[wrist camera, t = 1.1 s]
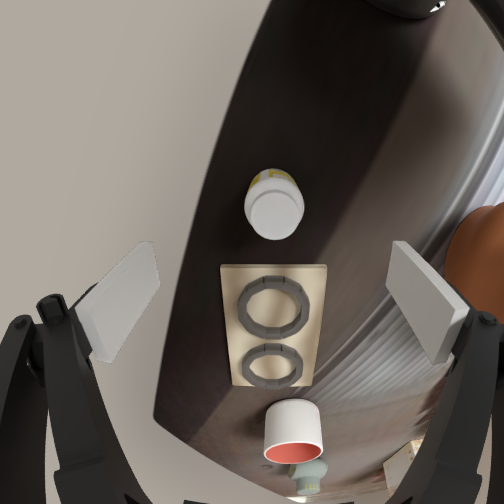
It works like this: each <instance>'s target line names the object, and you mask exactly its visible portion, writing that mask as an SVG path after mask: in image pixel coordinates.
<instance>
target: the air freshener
mask: <svg viewBox="0 0 504 504" xmlns="http://www.w3.org/2000/svg"><path fill="white" fill-rule="evenodd" d="M327 468H328V465H327V462H325V461H324V460H322V459H319V458H315V459H313V460H310V461H307V462H303V463H296V464H291V466H290V468H289V472H288V476H289V478H290V479H292V480H294V481H296V492H297V493H298V494H300V495H310V494H315V493H318V492H319V491H320V478H322V477H323V476H324V475H325V474H326V472H327Z"/></svg>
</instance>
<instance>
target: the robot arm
mask: <svg viewBox="0 0 504 504" xmlns="http://www.w3.org/2000/svg"><path fill="white" fill-rule="evenodd" d="M365 1H367V2H368V3H370V4H371V5H373V6H375V7H377V8H379V9H381V10H383V11H385V12H387V13H390V14H393V15H395V16H399V17H403V18H408V19H422V18H426V17H429V16H431V15H432V14H434V13H436V12H437V11H439V10H440V9H441V8H442V7H443V6H444V4H445V2H446V0H365ZM469 1H470V2H471V4H472V5H473V6H474V7H475V9H476V10H477V11H478V13H479V14H480V16H481V17H482V18H483V20H484V21H485V23H486V24H487V26H488V27H489V28H490V30H491V31H492V33H493V35H494V36H495V38H496V39H497V41H498V43H499V44H500V46H501V48H502V49H503V51H504V0H469ZM160 286H161V285H160V280H159V275H158V269H157V264H156V258H155V252H154V247H153V242H140V243H139V244H138V245H137V246H136V247H135V248H134V249H133V250H131V251H130V252H129V254H127V255H126V256H125V257H124V258H123V259H122V260H121V261H120V262H119V263H118V264H117V265H116V266H115V267H114V268H113V269H112V270H111V271H110V272H109V273H108V274H107V275H106V276H105V277H104V278H103V279H102V280H101V281H100V282H98V283H96V284H94V285H93V286H91V287H90V288H89V289H88V290H87V291H86V292H85V294H83V295H82V296H81V297H80V299H78V300H77V301H76V302H75V303H74V305H73V306H72V307H71V308H70V309H69V310H68V308H67V306H66V303H65V300H64V298H63V295H61V294H52V295H48V296H46V297H44V298H43V299H41V300H40V301H39V302H38V303H37V305H36V308H37V310H38V313H39V315H40V317H41V319H42V322H43V324H34V322H33V320H32V318H31V316H30V315H20V316H18V317H16V318H15V319H14V320H13V321H12V322H11V323H10V325H9V327H8V329H7V331H6V333H5V335H4V337H3V340H2V342H1V344H0V504H46V493H45V441H46V427H47V416H48V409H49V416H50V422H51V428H52V433H53V438H54V443H55V447H56V451H57V456H58V460H59V464H60V470H57V471H55V472H54V481H55V485H56V489H57V492H58V495H59V498H60V501H61V504H152V502H151V501H150V500H149V499H148V497H147V496H146V495H145V493H144V492H143V490H142V489H141V487H140V485H139V483H138V481H137V479H136V477H135V475H134V473H133V471H132V469H131V467H130V466H129V464H128V461H127V459H126V457H125V455H124V453H123V450H122V448H121V446H120V444H119V441H118V439H117V437H116V434H115V432H114V429H113V427H112V424H111V421H110V419H109V416H108V413H107V411H106V408H105V405H104V402H103V399H102V396H101V393H100V390H99V387H98V384H97V381H96V377H95V374H94V370H93V367H92V363H91V361H90V359H89V357H88V356H89V355H90V353H91V352H92V351H93V353H94V355H95V357H96V359H97V361H100V362H105V363H110V364H111V363H112V362H113V360H114V359H115V357H116V355H117V354H118V352H119V350H120V349H121V347H122V345H123V344H124V342H125V340H126V339H127V337H128V336H129V334H130V332H131V331H132V329H133V328H134V326H135V324H136V323H137V321H138V320H139V318H140V317H141V315H142V313H143V312H144V310H145V309H146V307H147V305H148V304H149V302H150V301H151V299H152V298H153V296H154V295H155V293H156V292H157V290H158V289H159V287H160ZM385 286H386V287H387V289H388V290H389V292H390V294H391V295H392V297H393V298H394V300H395V301H396V303H397V305H398V306H399V308H400V310H401V311H402V313H403V315H404V316H405V318H406V320H407V321H408V323H409V325H410V326H411V328H412V330H413V332H414V333H415V335H416V337H417V338H418V340H419V342H420V344H421V346H422V347H423V349H424V351H425V353H426V355H427V357H428V358H429V360H430V362H431V364H432V365H435V364H440V363H445V362H446V361H447V359H448V357H449V355H450V353H451V351H452V353H453V354H454V356H455V358H454V360H453V362H452V364H451V366H450V368H449V370H448V372H447V373H446V375H445V376H446V377H447V376H448V378H447V381H446V384H445V387H444V390H443V393H442V395H441V398H440V401H439V404H438V406H437V409H436V411H435V414H434V416H433V419H432V421H431V424H430V426H429V428H428V430H427V433H426V435H425V437H424V439H423V441H422V444H421V446H420V448H419V450H418V452H417V454H416V456H415V458H414V460H413V461H412V463H411V465H410V467H409V469H408V471H407V472H406V474H405V476H404V478H403V479H402V481H401V483H400V484H399V486H398V488H397V489H396V491H395V492H394V494H393V495H392V496H391V498H390V499H389V500H388V501H387V502H386V503H385V504H474V503H475V500H476V497H477V495H478V492H479V490H480V487H481V483H482V476H481V475H479V474H477V467H478V464H479V461H480V458H481V454H482V451H483V447H484V443H485V440H486V435H487V431H488V427H489V422H490V417H491V414H492V456H491V471H490V482H489V489H488V496H487V503H486V504H504V324H499V321H498V320H497V318H496V317H495V316H494V315H492V314H490V313H488V312H485V311H477V310H476V309H475V308H474V307H473V306H472V305H471V304H470V302H469V301H468V300H467V299H466V298H464V296H463V295H462V294H461V293H460V291H459V290H458V289H457V288H456V287H455V286H454V285H452V284H450V283H449V282H447V281H445V280H444V279H443V278H442V277H441V276H440V275H439V274H438V273H437V272H436V271H435V270H434V269H433V268H432V267H431V266H430V265H429V264H428V263H427V262H426V261H425V260H424V259H423V258H422V257H421V256H420V255H419V254H418V253H417V252H416V251H415V250H414V249H413V248H412V247H411V246H410V245H409V244H408V243H407V242H405V241H393V246H392V252H391V258H390V263H389V269H388V274H387V279H386V284H385ZM27 363H28V365H27ZM183 504H206V503H199V502H193V501H188V500H184V503H183ZM341 504H354V502H348V503H341Z"/></svg>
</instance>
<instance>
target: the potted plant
mask: <svg viewBox="0 0 504 504" xmlns="http://www.w3.org/2000/svg"><path fill="white" fill-rule="evenodd" d="M444 274H445V281H447V282H449V283H450V284H452V285H454V286H455V287H456V288H457V289H458V290H459V291H460V293H461V294H462V295H463V296H464V298H466V299H467V300H468V301H469V302H470V304H471V305H472V306H473V307H474V308H475V309H476V310H477V311H485V312H488V313H490V314H492V315H494V316H495V317H496V318H497V320H498V321H499V324H504V202H502V203H500V204H498V205H496V206H484V207H481V208H478V209H476V210H475V211H473V212H472V213H471V214H470V215H468V216H467V217H466V218H465V219H464V221H463V222H462V223H461V224H460V226H459V227H458V229H457V230H456V232H455V234H454V236H453V238H452V240H451V242H450V245H449V248H448V251H447V254H446V259H445V268H444Z"/></svg>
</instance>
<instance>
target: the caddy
mask: <svg viewBox="0 0 504 504" xmlns="http://www.w3.org/2000/svg"><path fill="white" fill-rule="evenodd" d="M220 271H221V282H222V293H223V303H224V313H225V322H226V332H227V341H228V350H229V358H230V367H231V375H232V383H233V385H239V386H256V387H259V388H262V389H265V390H279V389H283V388H286V387H289V386H311V384H312V379H313V373H314V367H315V361H316V355H317V348H318V342H319V335H320V328H321V320H322V312H323V304H324V296H325V287H326V277H327V265H326V264H221V267H220Z"/></svg>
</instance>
